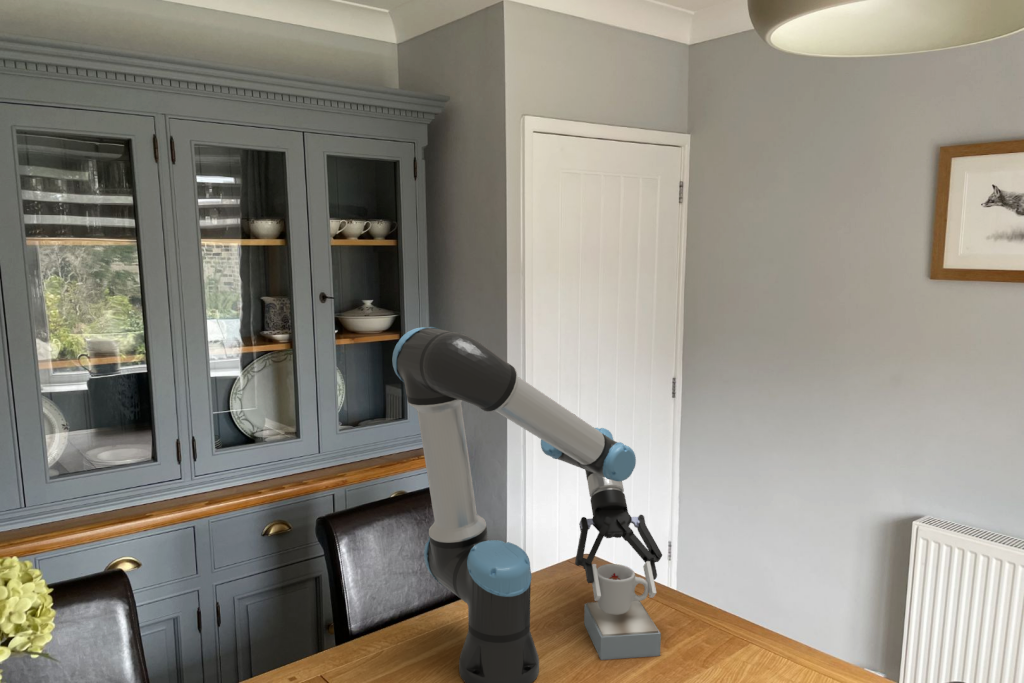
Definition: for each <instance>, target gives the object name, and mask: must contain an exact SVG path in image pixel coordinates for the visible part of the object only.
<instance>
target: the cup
mask: <svg viewBox="0 0 1024 683" xmlns="http://www.w3.org/2000/svg"><path fill="white" fill-rule="evenodd" d="M596 568H597V574H598V580H599V586H600V592H601V597H600V599H599V601H597V602H598V605H599V607H600V609H601V610H602V611H604V612H606V613H608V614H614V615H619V614H624V613H626V612H627V611H628V610H629V609H630V606H631V603H632V602H633V601H640V602H642V601H644V600H646V599H647V597H648V596H649V586H648V583H647V581H646V578H645V579H644V578H642V577H639V576H636V574H635V571H634V570H633V569H632V568H631V567H628V566H627V565H623V564H617V563H607V564H603V565H600V566H598V567H596ZM639 584H641V585H643V587H644V590H643V592H642V594H641V595H639V594H636V592H635V589H636V586H637V585H639Z"/></svg>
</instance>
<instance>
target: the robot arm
mask: <svg viewBox="0 0 1024 683" xmlns="http://www.w3.org/2000/svg"><path fill="white" fill-rule="evenodd" d="M391 361H392V367H393V370H394V373H395V375H396V376H397V377H398V378H399V380H400V381H402V382H403V383H404V385H405V386H404V389H405V393H406V399H407V404H408V405H410V406H411V407H412V408H414V409H415V410H416V411H417V418H418V423H419V431H420V436H421V444H422V448H423V456H424V462H425V468H426V475H427V481H428V486H429V493H430V494H429V495H430V499H431V506H432V507H431V508H432V512H433V520H434V522H433V524H432V525H430V527H429V529H428V541H427V542H426V543H425V545H424V548H423V559H424V564H425V566H426V569H427V571H428V572H429V574H430V575H431V576H432V577H433V578H434V580H435V581H436V582H437V583H439V584H440V585H441V586H444V587H445V588H447V590H448V591H449V592H452V593H453V594H454V595H455V596H457V597H458V598H459V599H461V601H463V602H464V603H466V604H467V608H468V610H467V612H468V613H467V614H468V616H467V618H468V619H467V620H468V625H467V626H468V627H467V629H468V631H467V634H466V637H465V640H464V642H463V646H462V649H461V652H460V654H459V661H458V665H459V666H458V669H459V670H458V671H459V675H460V678H461V679H462V681H463V682H465V683H533V682H535V680H536V679H537V677H538V676H539V673H540V658H539V654H538V651H537V648H536V645H535V642H534V639H533V635H532V633H531V589H532V588H531V586H532V585H531V583H532V579H533V578H532V570H531V569H532V568H531V562H530V558H529V556H528V554H527V552H526V550H524V549H523V548H522V547H520V546H518V545H517V544H514V543H511V542H509V541H508V542H504V541H503V540H497V539H496V540H495V539H490V540H489V536H488V535H489V534H488V528H487V523H486V520H485V518H484V517H482V516H480V515H479V514H478V513H477V506H476V505H477V504H476V499H475V497H476V496H475V491H474V485H473V484H474V482H473V477H472V470H471V469H472V468H471V463H470V457H469V456H470V455H469V449H468V442H467V435H466V428H465V421H464V414H463V406H462V402H465V403H468V404H471V405H472V406H475V407H477V408H479V409H481V410H483V412H486V413H493V412H495V413H497V414H500V415H501V416H502V417H503V418H506V419H507V420H509V421H510V422H513V424H515V425H517V426H519V427H520V428H523V429H524V430H526V431H527V432H528V433H531V434H532V435H534V436H535V437H537V438H539V439H540V447H541V448H540V449H541V450H542V452H543V454H544V455H545V456H546V455H547V456H548V457H551V458H552V459H555V460H558V461H561V462H563V463H567V464H570V465H572V466H575V467H578V468H580V469H582V470H585V475H586V476H585V477H586V481H587V487H588V488H587V489H588V492H589V497H590V506H591V511H592V518H587V517H586V516H582V517H581V518H580V521H579V523H578V524H579V529H580V530H579V531H580V535H579V538H578V545H577V549H576V556H575V562H574V564H575V566H576V567H583V569H584V570H585V577H586V582H587V583H588V584H591V585H592V591H593V599H594V602H598V601H599V599H600V597H601V592H600V586H599V580H598V574H597V568H598V567H597V564H596V563H593V561H594V559H595V557H596V554H597V552H598V550H599V547H600V545H601V544H602V541H603V539H604V538H606V539H611V538H616V539H618V538H619V539H620V538H622V539H623V540H624V541H625V542H627V543H628V544H629V546H631V548H632V549H633V550H634V551H635V553H636V554H637V555H638V556H639V557H640V558H641V560H642V561H643V562H644V565H643V566H642V568H643V572H644V576H645V580H646V581H647V583H648V586H649V592H648V598H649V599H651V598H652V599H653V598H654V597H655V596H656V595H657V589H656V584H655V580H656V579H657V577H658V573H657V569H656V568H657V567H656V563H659V561H660V560H661V558H662V556H663V554H662V551H661V550H660V547H659V545H657V542H656V541H655V539H654V538H653V536H652V533H651V532H650V530H649V528H648V527H647V524H646V520H645V515H643V514H639V515H638V516H632V515H631V514H629V510H628V505H627V500H626V495H625V493H624V491H625V490H624V489H625V488H624V483H623V481H626V480H627V479H629V478H630V477H631V475H632V474H633V472H634V470H635V469H636V464H637V459H636V453H635V451H634V449H632V448H631V447H630V446H628V445H626V444H624V443H623V442H620V441H619V442H618V441H615V440H614V437H613V434H612V432H611V431H610V430H609V429H607V428H604V427H601V428H599V427H594V426H593V425H591V424H589V423H588V422H587V421H585V420H583V419H581V417H579V416H578V415H576V414H575V413H573V412H571V411H570V410H569V409H567V408H565V407H564V406H562V405H561V404H560V403H558V402H557V401H555V400H553V398H551V397H549V396H548V395H546V394H545V393H543V392H541V391H540V390H539V389H537V388H536V387H534V386H533V385H531V384H530V383H528V382H527V381H525V380H524V379H522V378H521V377H519V376H518V371H517V370H516V368H515V366H513V365H511V364H510V363H508V362H507V361H506V360H504V359H503V358H502V357H500V356H499V355H497V354H496V353H495V352H493V351H492V350H491V349H489V348H488V347H487V346H485V345H484V344H482V343H481V342H479V341H478V340H477V339H475V338H473V337H471V336H469V335H466V334H464V333H461V332H456V331H455V332H454V331H449V330H445V329H440V328H437V327H433V326H429V327H423V326H422V327H417V328H413V329H411V330H409V331H407V332H405V333H404V334H403V336H401V337H400V339H399V340H398V342H397V343H396V345H395V346H394V349H393V352H392V360H391ZM631 524H633V526H634V528H636V529H637V532H638V534H639V535H640V538H641V539H642V541H643V542H644V543H643V542H642V541H641V540H640V539H639V538H638V536H637V535H636V534H635V533H634V530H633V529H632V528H631V527H630V525H631ZM591 526H593V527H594V528H595V529H596V530H597V532H598V534H597V536H596V538H595V541H594V543H593V545H592V547H591V549H590V551H589V552H588V555H587V557H584V556H585V554H584V553H585V550H586V549H585V548H586V543H587V537H588V533H589V530H591V529H590V528H591Z"/></svg>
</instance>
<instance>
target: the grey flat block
mask: <svg viewBox="0 0 1024 683" xmlns="http://www.w3.org/2000/svg"><path fill="white" fill-rule="evenodd" d="M583 615H584V616H583V617H584V618H583V619H584V620H583V622H584V627H585V628H586V631H587V634H588V636H589V638H590V641H592V645H593V646H594V649H595V651H596V653H597V655H598V657H599V660H600V661H604V660H605V661H606V660H618V659H621V660H622V659H632V658H635V659H636V658H646V657H647V658H648V657H659V656H661V643H662V642H661V640H662V639H661V638H662V633H661V631H660V630H659V629H658V628H659V627H657V626H656V624H655V622H654V621H653V620H652V617H651V616H650V615H649V613H648V611H647V610H646V608H645V607H644V605H643V604H642V601H633V602H632V603H631V606H630V609H629V610H628V611H627V612H626V613H624V614H619V615H614V614H608V613H606V612H604V611H602V610H601V609H600V607H599V605H598V601H594V602H593V601H591V602H587V603H584V614H583Z"/></svg>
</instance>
